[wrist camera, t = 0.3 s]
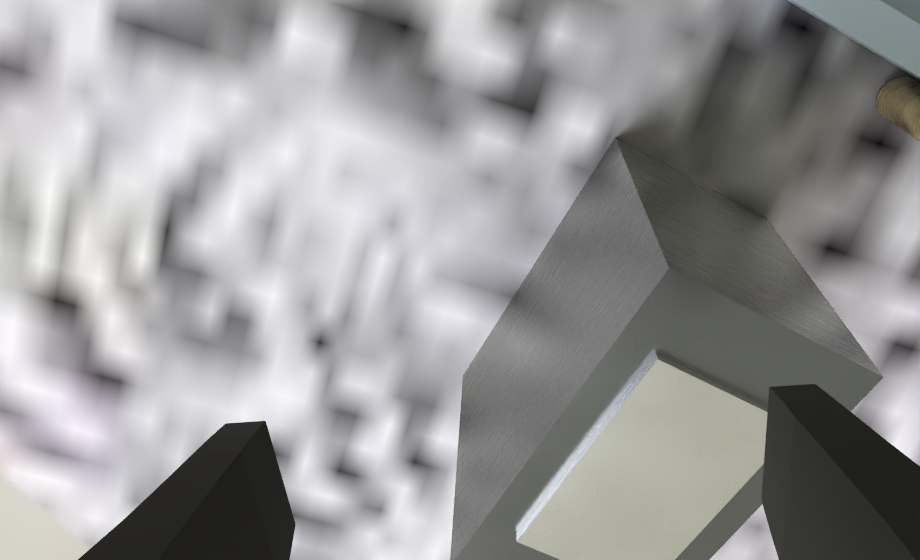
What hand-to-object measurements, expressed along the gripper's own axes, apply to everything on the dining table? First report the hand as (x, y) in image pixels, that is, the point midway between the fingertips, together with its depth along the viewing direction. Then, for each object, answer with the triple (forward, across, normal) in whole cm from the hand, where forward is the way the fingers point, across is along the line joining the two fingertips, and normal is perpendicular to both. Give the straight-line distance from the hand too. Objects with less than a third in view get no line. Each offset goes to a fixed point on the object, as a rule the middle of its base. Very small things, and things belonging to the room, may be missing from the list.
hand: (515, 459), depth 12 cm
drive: (+10, -2, +3) cm, 11 cm away
